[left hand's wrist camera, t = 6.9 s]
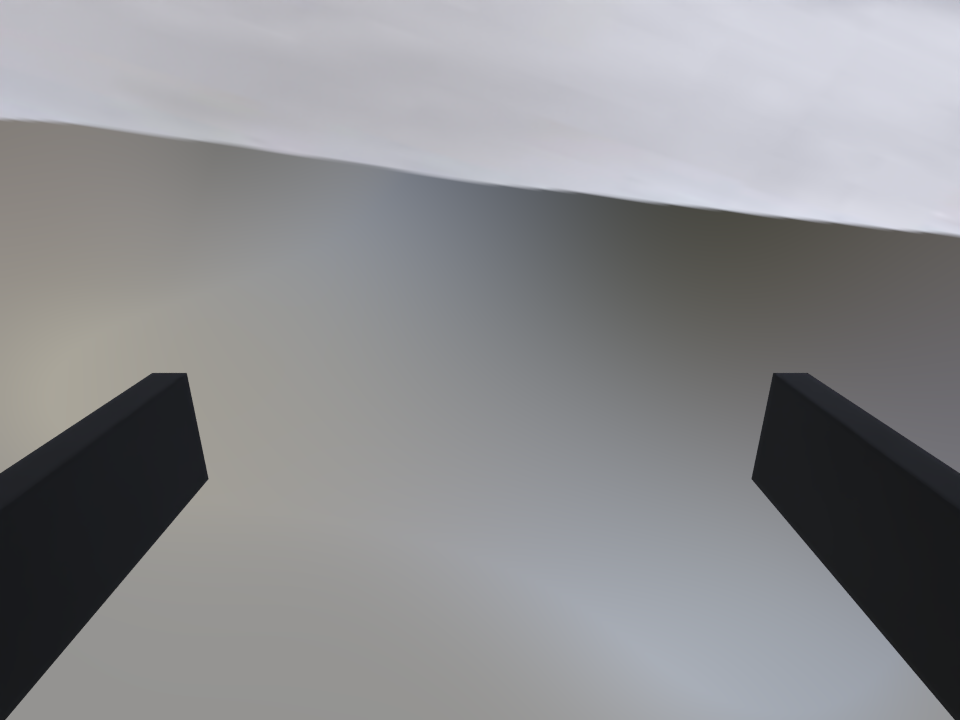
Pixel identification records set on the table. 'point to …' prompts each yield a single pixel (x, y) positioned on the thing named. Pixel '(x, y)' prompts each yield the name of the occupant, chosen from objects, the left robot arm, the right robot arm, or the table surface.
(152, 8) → the table surface
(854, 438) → the left robot arm
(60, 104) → the table surface
